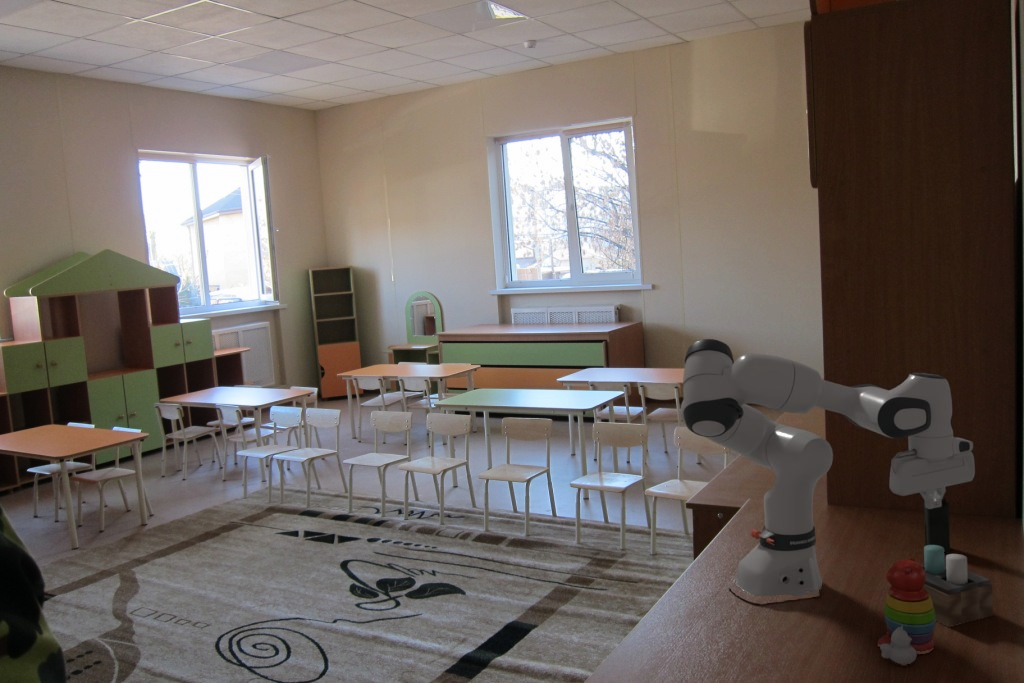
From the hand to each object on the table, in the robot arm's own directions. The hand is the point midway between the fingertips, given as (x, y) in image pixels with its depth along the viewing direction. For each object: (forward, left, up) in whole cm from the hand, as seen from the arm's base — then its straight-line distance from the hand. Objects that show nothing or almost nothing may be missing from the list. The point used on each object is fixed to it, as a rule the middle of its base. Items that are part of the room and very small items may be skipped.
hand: (933, 507), depth 188 cm
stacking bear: (-18, -12, -23) cm, 31 cm away
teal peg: (0, 0, -17) cm, 17 cm away
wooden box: (0, -3, -22) cm, 23 cm away
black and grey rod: (+24, +24, -23) cm, 41 cm away
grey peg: (0, -6, -17) cm, 18 cm away
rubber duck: (-25, -17, -23) cm, 38 cm away
